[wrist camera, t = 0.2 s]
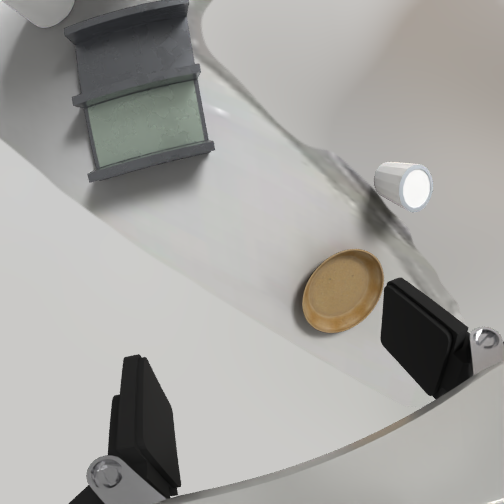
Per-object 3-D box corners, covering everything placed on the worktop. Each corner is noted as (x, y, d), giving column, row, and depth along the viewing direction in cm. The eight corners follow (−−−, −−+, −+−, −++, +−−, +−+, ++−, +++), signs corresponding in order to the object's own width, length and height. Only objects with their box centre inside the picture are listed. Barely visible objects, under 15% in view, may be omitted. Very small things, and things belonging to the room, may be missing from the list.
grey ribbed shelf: (76, 37, 27) (63, 24, 22) (184, 9, 30) (187, -8, 25) (101, 179, 35) (90, 187, 30) (209, 151, 38) (215, 154, 33)
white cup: (367, 199, 45) (395, 211, 39) (373, 154, 43) (403, 160, 37) (400, 202, 47) (429, 214, 41) (406, 161, 45) (436, 168, 38)
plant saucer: (280, 314, 49) (285, 323, 47) (323, 229, 46) (331, 235, 43) (348, 331, 54) (355, 339, 52) (389, 259, 51) (397, 265, 49)
